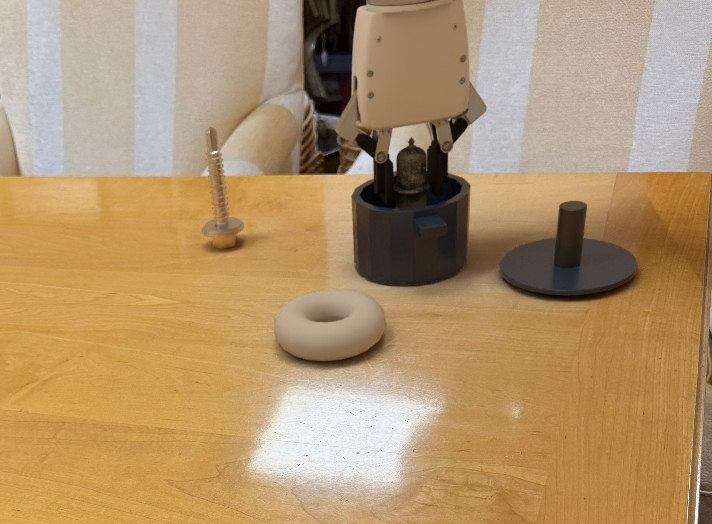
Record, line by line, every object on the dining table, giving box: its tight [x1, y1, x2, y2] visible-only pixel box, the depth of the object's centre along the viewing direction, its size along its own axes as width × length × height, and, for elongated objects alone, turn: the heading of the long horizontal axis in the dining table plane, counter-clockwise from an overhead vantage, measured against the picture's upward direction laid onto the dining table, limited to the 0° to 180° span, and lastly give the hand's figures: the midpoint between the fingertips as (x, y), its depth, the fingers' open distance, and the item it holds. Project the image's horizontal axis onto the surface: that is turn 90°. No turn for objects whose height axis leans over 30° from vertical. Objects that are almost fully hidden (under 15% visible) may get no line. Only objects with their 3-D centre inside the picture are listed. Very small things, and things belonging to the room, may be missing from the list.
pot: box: [351, 170, 472, 287], centre depth 91 cm, size 11×17×8 cm
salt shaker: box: [394, 136, 430, 209], centre depth 89 cm, size 6×6×12 cm
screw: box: [201, 126, 245, 250], centre depth 100 cm, size 13×5×5 cm
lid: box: [499, 200, 638, 296], centre depth 85 cm, size 12×12×7 cm
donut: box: [273, 288, 387, 362], centre depth 81 cm, size 10×4×10 cm
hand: (410, 193), depth 89 cm, fingers open, 4 cm apart
